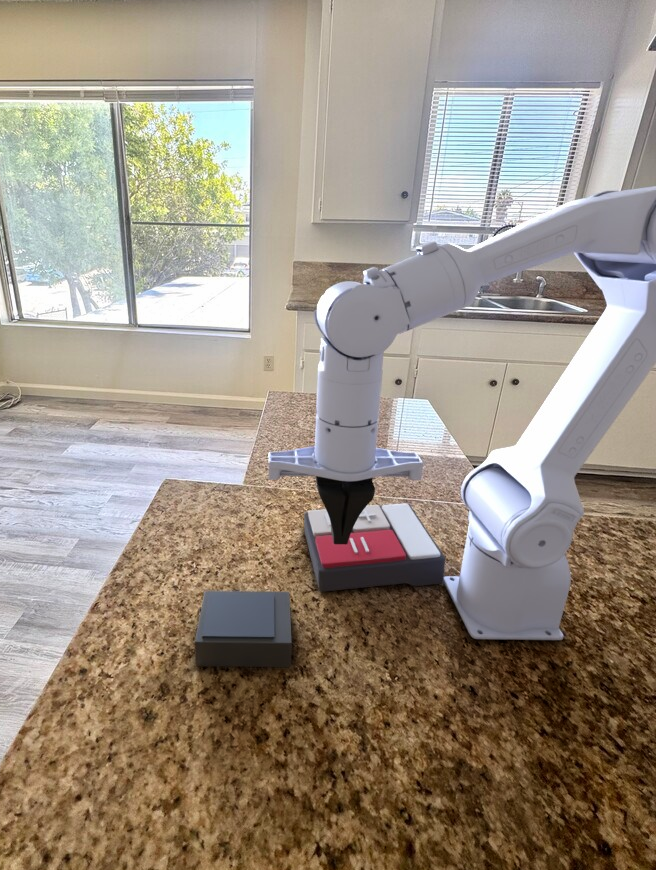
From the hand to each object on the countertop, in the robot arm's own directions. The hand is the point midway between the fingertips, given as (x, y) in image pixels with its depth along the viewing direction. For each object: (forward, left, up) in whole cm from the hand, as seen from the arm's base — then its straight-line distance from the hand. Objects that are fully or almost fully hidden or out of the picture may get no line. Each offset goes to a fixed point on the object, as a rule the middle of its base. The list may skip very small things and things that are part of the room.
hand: (339, 537), depth 43 cm
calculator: (-6, -9, -10) cm, 14 cm away
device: (+5, +3, -8) cm, 10 cm away
